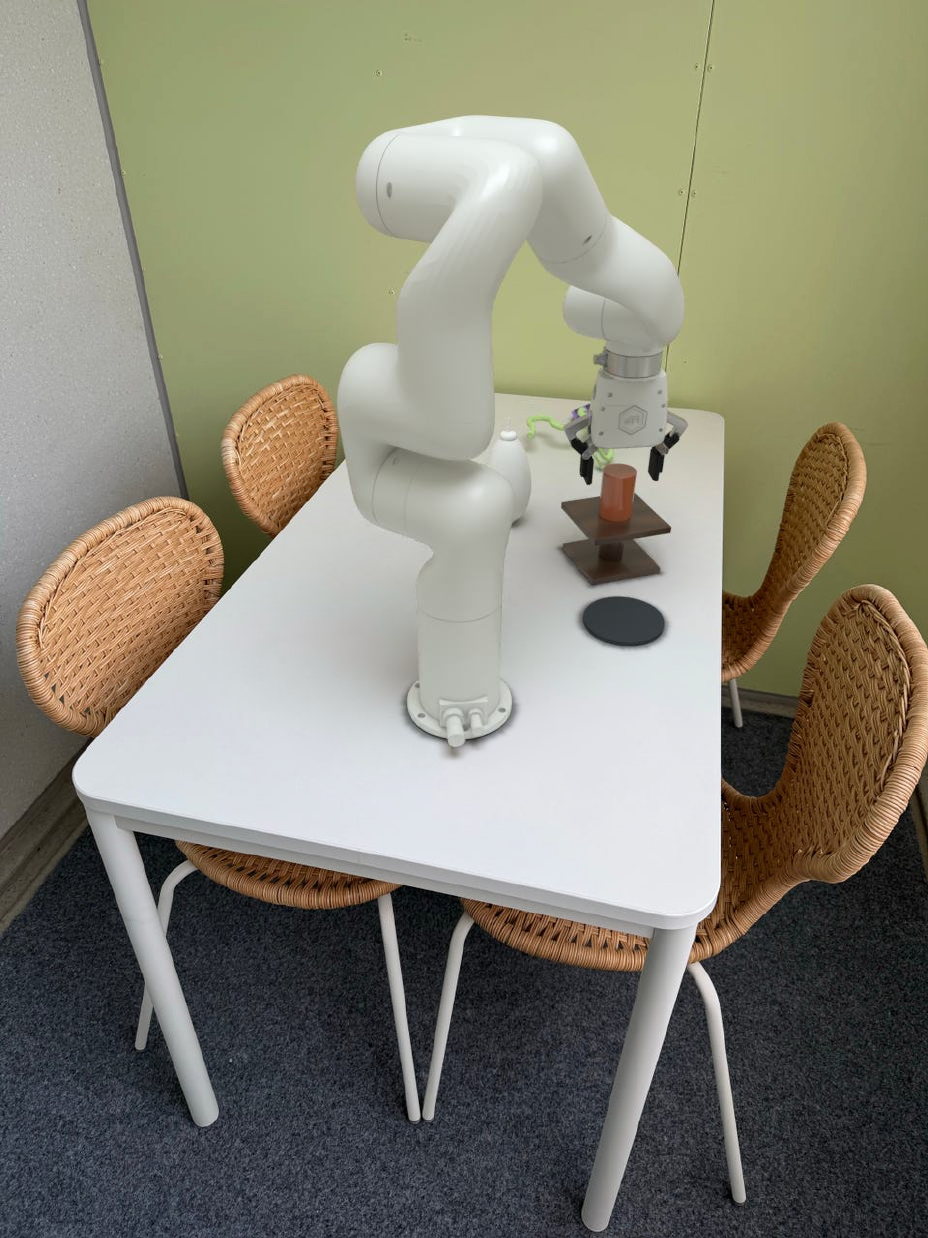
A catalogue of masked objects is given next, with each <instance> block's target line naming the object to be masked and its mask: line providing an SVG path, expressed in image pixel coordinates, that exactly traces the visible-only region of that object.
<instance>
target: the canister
mask: <svg viewBox="0 0 928 1238" xmlns="http://www.w3.org/2000/svg"><path fill="white" fill-rule="evenodd" d="M637 475H638V470H637V468H635V467H634V466H632V465H630V464H626V463H619V462H618V463H610V464H607V465H605V466H604V467H603V469H602V476H601V485H600V495H599V496H600V504H599V515H600V517H602V518H603V519H605V520H608V521H613V522H622V521H626V520H628V519H630V518H631V516H632V508H633V500H634V492H635V491H636V484H637ZM635 493H636V492H635Z"/></svg>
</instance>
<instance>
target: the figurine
mask: <svg viewBox="0 0 928 1238" xmlns="http://www.w3.org/2000/svg"><path fill="white" fill-rule="evenodd" d="M589 409H590V403H586V404H585V405H582V406H580V407H578V408H575V409H574V410H572V411H571V414H572V417H573V420H575V419H577V418H579V417H581V416H583V415H585V414H587V413H588V412H589ZM534 422H548V424H549V426H550V427H551V428H553V429H555V430H557V431H561V432H564V430H563V427H564V425H565V424H562V423H558V422H556V421H555V419H554V417H553V416H551V415H550V414H549V415H548V414H535V415H532V416H529V417H528V418H527V419H526V421H525V423H526V426H527V427H528V428H529V431H528V433H527V438H528V439H529V440H533V438H534V437H535V435H536V432H537V429H536V424H535V423H534ZM583 430H588V426H587V427H585V428H583V429H581V430H580V431H583ZM596 451H597V452H598V453H599V455H600V457H601V459H603V460H604V461H606V462H607V463H608V462H610V461H611V460H613V458H614V454H615V452H614V451H615V450H614V449H607V454H606V453H605V452H604V451H603V449H601V448H598V449H597V450H596ZM592 457H593V459H594V460H595V461H596V462H597V465H598V467H599V469H600V470H603V468H604V467H603V465H602V462H601V460H600V459H599V457H598V455H597V454H596V452H595V453H594V454H593V455H592Z"/></svg>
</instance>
